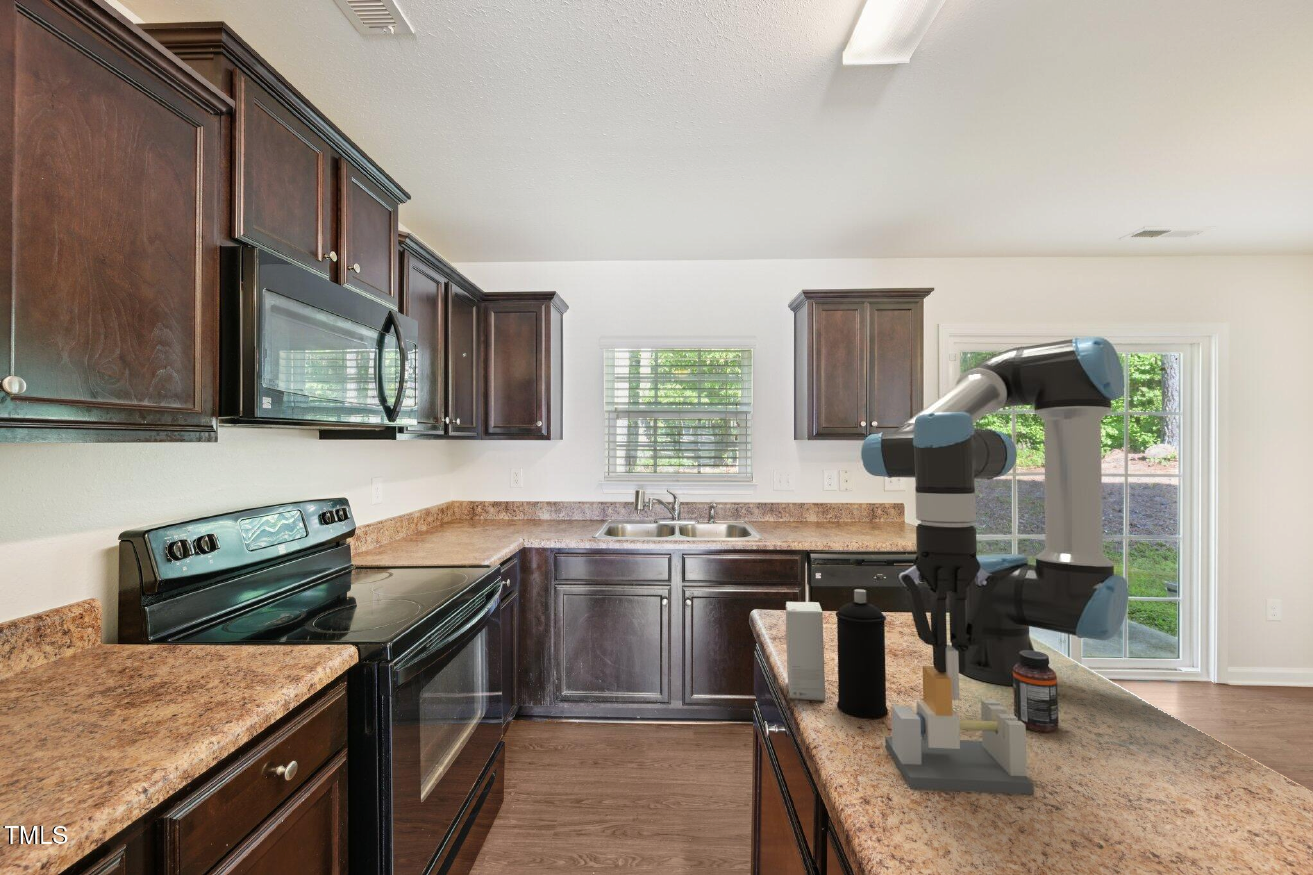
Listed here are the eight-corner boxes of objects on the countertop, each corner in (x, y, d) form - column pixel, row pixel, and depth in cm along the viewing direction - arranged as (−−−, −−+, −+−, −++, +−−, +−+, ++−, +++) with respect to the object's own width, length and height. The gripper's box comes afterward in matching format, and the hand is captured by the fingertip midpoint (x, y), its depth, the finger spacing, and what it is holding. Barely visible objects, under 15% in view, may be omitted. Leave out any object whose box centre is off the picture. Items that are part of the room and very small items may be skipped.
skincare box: (825, 702, 102) (824, 612, 103) (787, 699, 104) (786, 610, 104) (821, 684, 111) (820, 601, 111) (786, 681, 112) (785, 599, 112)
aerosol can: (863, 723, 94) (861, 597, 95) (826, 704, 101) (824, 588, 102) (898, 713, 98) (896, 592, 99) (861, 695, 105) (859, 583, 106)
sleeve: (945, 732, 83) (944, 666, 83) (960, 749, 78) (959, 679, 78) (916, 731, 83) (915, 665, 83) (929, 748, 78) (928, 678, 78)
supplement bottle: (1016, 713, 97) (1014, 645, 98) (1059, 723, 94) (1057, 652, 94) (1011, 726, 93) (1010, 654, 93) (1057, 737, 89) (1055, 662, 89)
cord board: (992, 751, 85) (990, 695, 85) (1033, 794, 74) (1031, 730, 74) (885, 747, 86) (884, 692, 86) (910, 788, 75) (909, 725, 76)
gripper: (981, 520, 84) (986, 686, 83) (889, 520, 86) (892, 683, 85) (1007, 526, 77) (1013, 708, 76) (906, 526, 78) (910, 705, 77)
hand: (950, 695), depth 80 cm, fingers closed
